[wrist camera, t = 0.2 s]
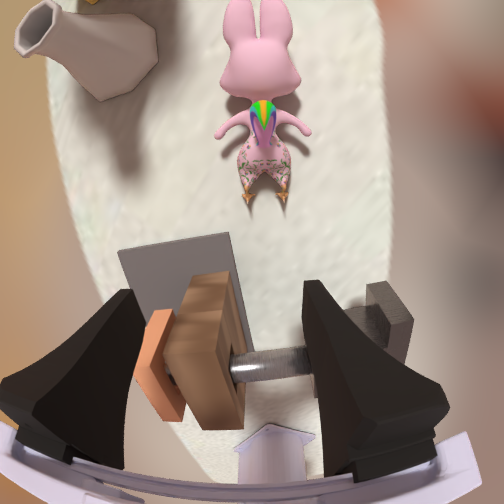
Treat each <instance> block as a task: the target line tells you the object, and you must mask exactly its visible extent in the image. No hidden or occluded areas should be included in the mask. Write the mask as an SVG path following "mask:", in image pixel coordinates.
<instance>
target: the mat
mask: <svg viewBox="0 0 504 504" xmlns="http://www.w3.org/2000/svg"><path fill="white" fill-rule="evenodd" d="M117 254H118V257H119V259H120V262H121V265H122V268H123V271H124V273H125V276H126V279H127V281H128V284H129V287H130V289H133V291H134V294H135V296H136V299H137V301H138V304H139V306H140V309H141V311H142V313H143V316H144V318H145V321H146V327H147V325H148V323H149V321H150V319H151V317H152V315H153V313H154V311H155V310H164V309H173V311H174V314H175V316H177V314H178V311H179V309H180V306H181V304H182V301H183V298H184V296H185V293H186V291H187V288H188V286H189V283H190V281H191V279H192V276H193V275H201V274H208V273H216V272H223V271H230V276H231V280H232V284H233V289H234V293H235V298H236V302H237V306H238V310H239V315H240V319H241V323H242V327H243V332H244V336H245V340H246V344H247V353H250V352H254V347H253V343H252V338H251V334H250V329H249V325H248V320H247V316H246V311H245V307H244V302H243V298H242V293H241V288H240V284H239V279H238V274H237V270H236V265H235V260H234V256H233V251H232V246H231V241H230V236H229V232H224V233H218V234H212V235H206V236H200V237H193V238H187V239H181V240H175V241H170V242H164V243H158V244H152V245H146V246H141V247H135V248H130V249H124V250H119V251H118V252H117Z"/></svg>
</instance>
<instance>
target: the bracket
mask: <svg viewBox="0 0 504 504" xmlns="http://www.w3.org/2000/svg"><path fill="white" fill-rule="evenodd" d="M240 353H247V344H246V340H245V336H244V332H243V327H242V323H241V319H240V315H239V310H238V306H237V302H236V298H235V293H234V289H233V284H232V280H231V276H230V271H223V272H216V273H208V274H201V275H193V276H192V279H191V281H190V283H189V286H188V288H187V291H186V293H185V296H184V298H183V301H182V304H181V306H180V309H179V311H178V314H177V316H176V319H175V322H174V324H173V327H172V329H171V332H170V335H169V337H168V340H167V343H166V345H165V348H164V351H163V354H162V355H163V357H164V359H165V361H166V363H167V365H168V368H169V370H170V372H171V374H172V376H173V378H174V379H175V381H176V383H177V385H178V387H179V389H180V391H181V393H182V395H183V397H184V398H185V400H186V402H187V404H188V406H189V408H190V409H191V411H192V413H193V415H194V416H195V418H196V420H197V422H198V423H199V425H200V427H201V428H202V430H240V429H244V411H245V386H246V382H244V383H232V380H231V377H230V374H229V371H228V367H229V358H230V354H240Z"/></svg>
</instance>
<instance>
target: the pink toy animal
mask: <svg viewBox="0 0 504 504" xmlns="http://www.w3.org/2000/svg"><path fill="white" fill-rule="evenodd" d="M292 35H293V27H292V21H291V17H290V14H289V11H288V9H287V7H286V5H285V3H284V2H283V1H282V0H261V5H260V39H257V38H256V29H255V19H254V11H253V7H252V3H251V1H250V0H231V1H230V3H229V4H228V6H227V9H226V12H225V16H224V22H223V36H224V39H225V41H226V42H227V44H228V45H229V47H230V50H231V54H230V58H229V61H228V64H227V66H226V68H225V70H224V73H223V75H222V77H221V79H220V86H221V87H222V88H223V89H224V90H225V91H226V92H228V93H229V94H231V95H233V96H236V97H244V98H248V99H250V100H251V101H252V105H251V107H250V108H248V109H247V110H245V111H242V112H240V113H238V114H236V115H235V116H233V117H232V118H230V119H229V120H227V121H226V122H225V123H224V124H223V125H222V126H221V127H220V128H219V129H218V130H217V131H216V133H215V134H214V137H215V139H218V140H219V139H222V138H223V137H224V135H225V133H226V132H227V131H228V130H229V129H230V128H232V127H234V126H236V125H239V124H244V125H246V126H248V127H249V129H250V136H249V138H248V139H247V141H246V142H245V143H244V145H243V146H242V148H241V150H240V152H239V155H238V159H237V165H238V172H239V175H240V178H241V180H242V183H243V185H244V189H245V191H246V194H242V197H244V198H245V199H246V201H247V205H248V201H249V200H250V198H251V197H252V196H253V195H254V196H255V194H250V193H249V188H250V187H251V185H252V184H253V183H254V181H255V180H256V179H257V178H258V177H259V176H260V175H261V173H263V172H267V173H268V174H269V175H270V176H271V177H272V178H273V179H274V180H275V181H276V182H277V183H278V184H279V185H280V187H281V188H282V191H281V193H276V194H275V195H278V196H279V197H281V199H282V200H283V202H284V203H285V198H286V196H287V195H288V192H287V193H285V190H286V183H287V181H288V177H289V174H290V169H291V157H290V154H289V151H288V150H287V148H286V146H285V145H284V143H283V142H282V141H281V140H280V139H279V137H278V136H277V135H276V132H275V130H276V127H277V126H278V125H279V124H280V123H288V124H291V125H294V126H295V127H297V128H298V129H299V130H300V131H301V133H302V134H303V135H304V136H310V135H311V130H310V129H309V128H308V127H307V126H306V125H305V124H304V123H303V122H302V121H300V120H299V119H298V118H296V117H295V116H293V115H291V114H289V113H287V112H285V111H283V110H280V109H277V108H275V106H274V105H273V104H272V103H271V101H272V99H273V98H275V97H278V96H283V95H287V94H290V93H291V92H293V91H294V90H295V89H296V88H297V87H298V86H299V85H300V83H301V78H300V76H299V74H298V72H297V70H296V69H295V67H294V65H293V63H292V61H291V59H290V57H289V55H288V52H287V46H288V44H289V42H290V40H291V38H292Z"/></svg>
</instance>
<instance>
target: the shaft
mask: <svg viewBox="0 0 504 504" xmlns="http://www.w3.org/2000/svg"><path fill="white" fill-rule="evenodd" d="M343 311H344V312H345V313H346V314H347V315H348V317H349V318H350V319H351V320H352V321H353V322H354V323H355V324H356V325H357V326H358V327H359V328H360V329H361V330H362V331H363V332H364V333H365V334H366V335H367V336H368V337H369V338H370V339H371V340H372V341H373V342H375V343H376V344H377V345H378V346H379V347H381V348H382V349H383V350H384V351H385V352H387V353H388V354H390V355H391V356H392V357H394V358H395V359H397V360H398V361H399V362H401V363H402V364H404V363H405V359H406V355H407V351H408V347H409V342H410V338H411V333H412V328H413V323H414V319H413V317H412V315H411V314H410V312H409V311H408V310H407V308H406V307H405V305H404V304H403V303H402V301H401V300H400V299H399V297H398V296H397V294H396V293H395V292H394V290H393V289H392V288H391V286H390V285H389V284H388V282H387V281H382V282H377V283H372V284H367V285H366V306H361V307H356V308H351V309H345V310H343ZM163 367H164V369H165V371H166V373H167V374H168V376H169V378H170V380H171V382H172V384H173V386H178V385H177V383H176V381H175V379H174V378H173V376H172V374H171V372H170V370H169V368H168V365H167V363H166V361H165V362H164V365H163ZM228 371H229V374H230V377H231V380H232V383H244V382H255V381H265V380H274V379H282V378H290V377H297V376H304V375H310V377H311V382H312V388H313V393H314V398H318V394H317V388H316V383H315V379H314V375H313V371H312V367H311V363H310V359H309V355H308V351H307V347H306V343H305V345H304V346H297V347H290V348H283V349H276V350H267V351H259V352H250V353H240V354H230V358H229V367H228ZM136 381H137V380H136ZM137 383H138V382H137Z"/></svg>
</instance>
